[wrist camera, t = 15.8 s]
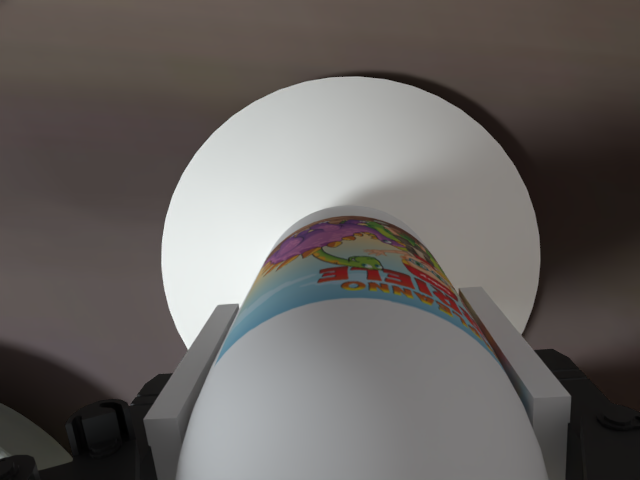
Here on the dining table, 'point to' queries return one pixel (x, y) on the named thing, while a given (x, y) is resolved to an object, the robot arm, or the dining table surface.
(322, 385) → the milk bottle
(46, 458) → the cake pan
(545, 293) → the dining table surface
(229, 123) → the white round plate
